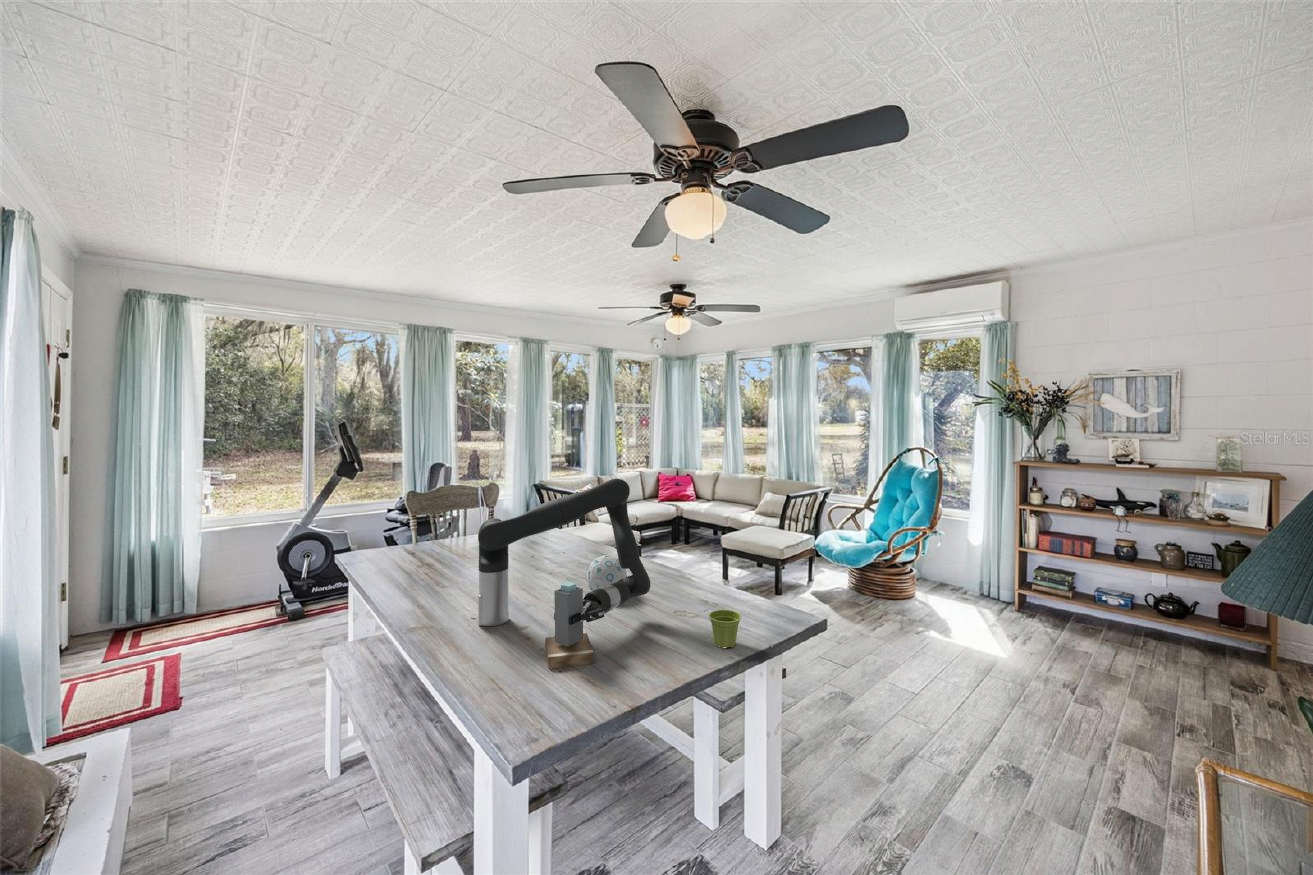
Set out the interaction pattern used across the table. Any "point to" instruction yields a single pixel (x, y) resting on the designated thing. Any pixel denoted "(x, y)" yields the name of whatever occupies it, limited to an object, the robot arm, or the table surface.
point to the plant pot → (724, 627)
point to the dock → (568, 653)
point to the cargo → (568, 587)
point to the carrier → (563, 610)
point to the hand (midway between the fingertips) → (562, 618)
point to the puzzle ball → (604, 572)
